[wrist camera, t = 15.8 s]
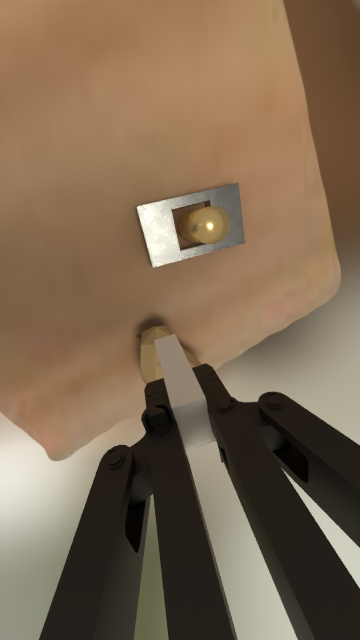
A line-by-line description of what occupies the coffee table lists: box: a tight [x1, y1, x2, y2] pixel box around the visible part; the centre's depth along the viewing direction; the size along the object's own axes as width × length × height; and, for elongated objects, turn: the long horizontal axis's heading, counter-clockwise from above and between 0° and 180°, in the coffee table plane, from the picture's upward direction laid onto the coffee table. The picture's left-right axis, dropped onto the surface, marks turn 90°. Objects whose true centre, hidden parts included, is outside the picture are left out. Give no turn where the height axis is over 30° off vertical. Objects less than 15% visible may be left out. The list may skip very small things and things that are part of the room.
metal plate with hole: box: [136, 183, 245, 267], centre depth 38 cm, size 16×9×2 cm, turn 103°
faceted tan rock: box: [136, 325, 202, 385], centre depth 42 cm, size 15×11×12 cm
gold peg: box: [178, 206, 230, 244], centre depth 34 cm, size 4×4×11 cm
